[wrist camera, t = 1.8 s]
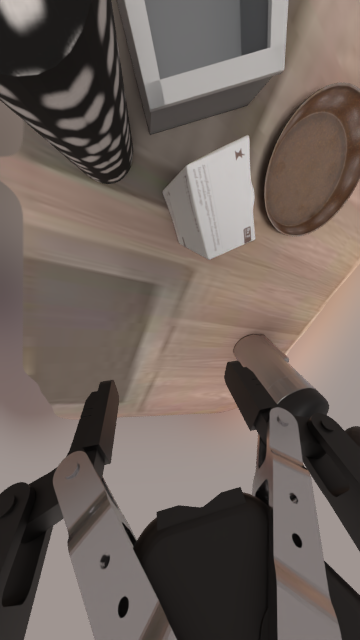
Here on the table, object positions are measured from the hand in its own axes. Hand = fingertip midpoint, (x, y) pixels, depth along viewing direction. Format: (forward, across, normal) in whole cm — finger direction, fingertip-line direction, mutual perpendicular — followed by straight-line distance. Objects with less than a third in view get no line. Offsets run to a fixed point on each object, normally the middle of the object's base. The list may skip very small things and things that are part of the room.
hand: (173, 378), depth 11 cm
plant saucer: (+24, -27, -16) cm, 40 cm away
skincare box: (+24, -7, -11) cm, 27 cm away
